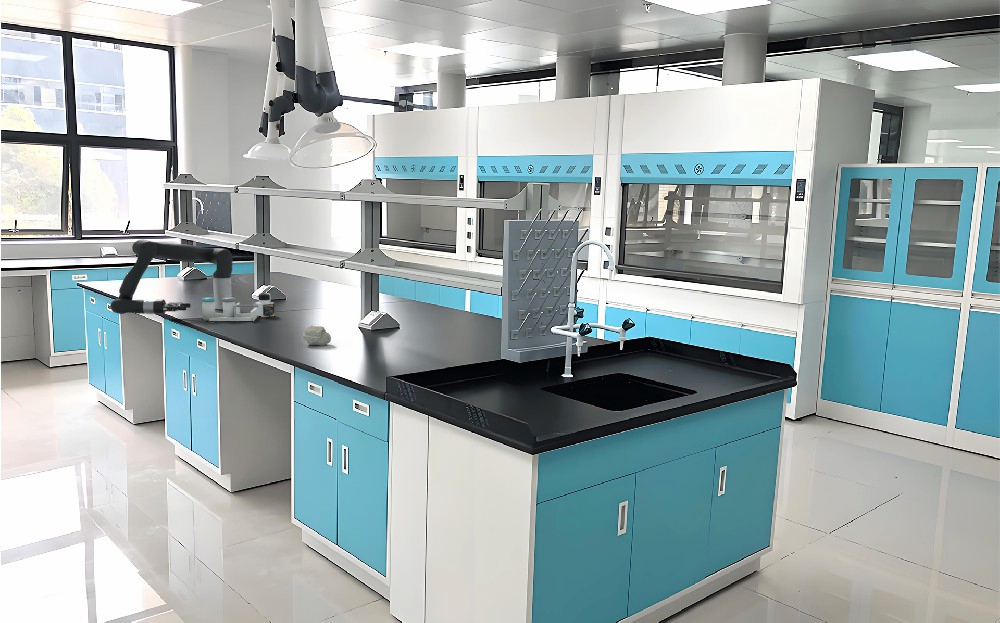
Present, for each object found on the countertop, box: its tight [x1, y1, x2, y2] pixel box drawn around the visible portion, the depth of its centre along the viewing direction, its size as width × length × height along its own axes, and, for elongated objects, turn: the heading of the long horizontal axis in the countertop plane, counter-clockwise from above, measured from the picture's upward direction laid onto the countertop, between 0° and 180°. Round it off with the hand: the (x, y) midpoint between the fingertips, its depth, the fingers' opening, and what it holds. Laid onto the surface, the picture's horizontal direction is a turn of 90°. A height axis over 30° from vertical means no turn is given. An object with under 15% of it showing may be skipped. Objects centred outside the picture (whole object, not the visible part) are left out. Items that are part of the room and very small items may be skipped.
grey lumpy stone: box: [302, 325, 332, 347], centre depth 336 cm, size 12×8×10 cm
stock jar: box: [222, 296, 236, 317], centre depth 390 cm, size 6×6×11 cm
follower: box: [234, 302, 258, 317], centre depth 391 cm, size 10×11×8 cm
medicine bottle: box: [254, 292, 275, 318], centre depth 403 cm, size 7×7×12 cm
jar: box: [201, 296, 216, 321], centre depth 388 cm, size 6×6×11 cm
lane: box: [208, 307, 258, 322], centre depth 391 cm, size 16×21×5 cm
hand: (188, 306), depth 387 cm, fingers open, 8 cm apart
